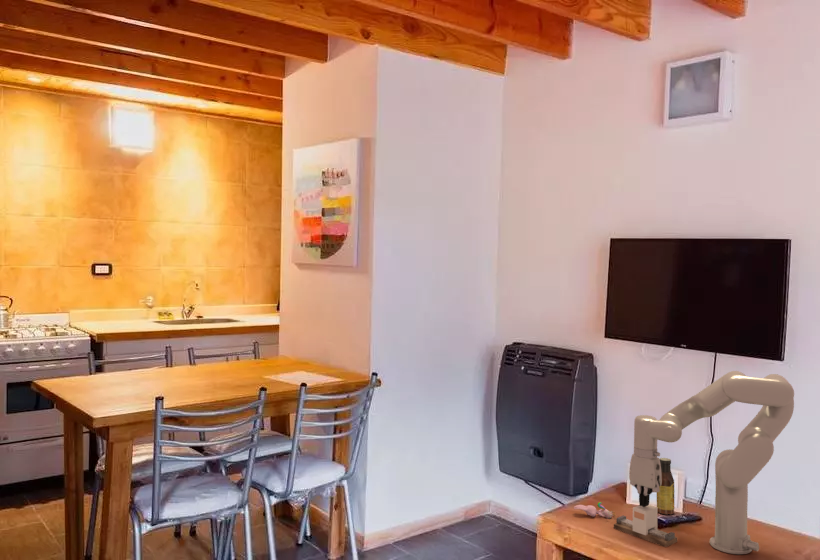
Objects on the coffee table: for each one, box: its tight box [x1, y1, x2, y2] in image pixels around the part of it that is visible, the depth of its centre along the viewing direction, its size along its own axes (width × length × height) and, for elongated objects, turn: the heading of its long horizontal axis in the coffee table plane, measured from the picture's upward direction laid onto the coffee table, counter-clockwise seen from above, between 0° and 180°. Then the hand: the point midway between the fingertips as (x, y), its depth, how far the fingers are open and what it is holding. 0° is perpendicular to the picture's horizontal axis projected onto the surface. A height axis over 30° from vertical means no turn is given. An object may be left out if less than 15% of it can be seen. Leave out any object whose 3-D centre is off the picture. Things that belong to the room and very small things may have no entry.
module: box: [632, 504, 658, 535], centre depth 232 cm, size 5×7×8 cm
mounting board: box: [613, 522, 678, 548], centre depth 232 cm, size 20×7×2 cm, turn 38°
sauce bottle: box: [656, 457, 675, 515], centre depth 252 cm, size 6×6×20 cm
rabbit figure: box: [573, 501, 617, 520], centre depth 248 cm, size 6×6×15 cm
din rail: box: [615, 515, 676, 541], centre depth 232 cm, size 20×4×2 cm, turn 38°
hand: (644, 505), depth 232 cm, fingers closed
